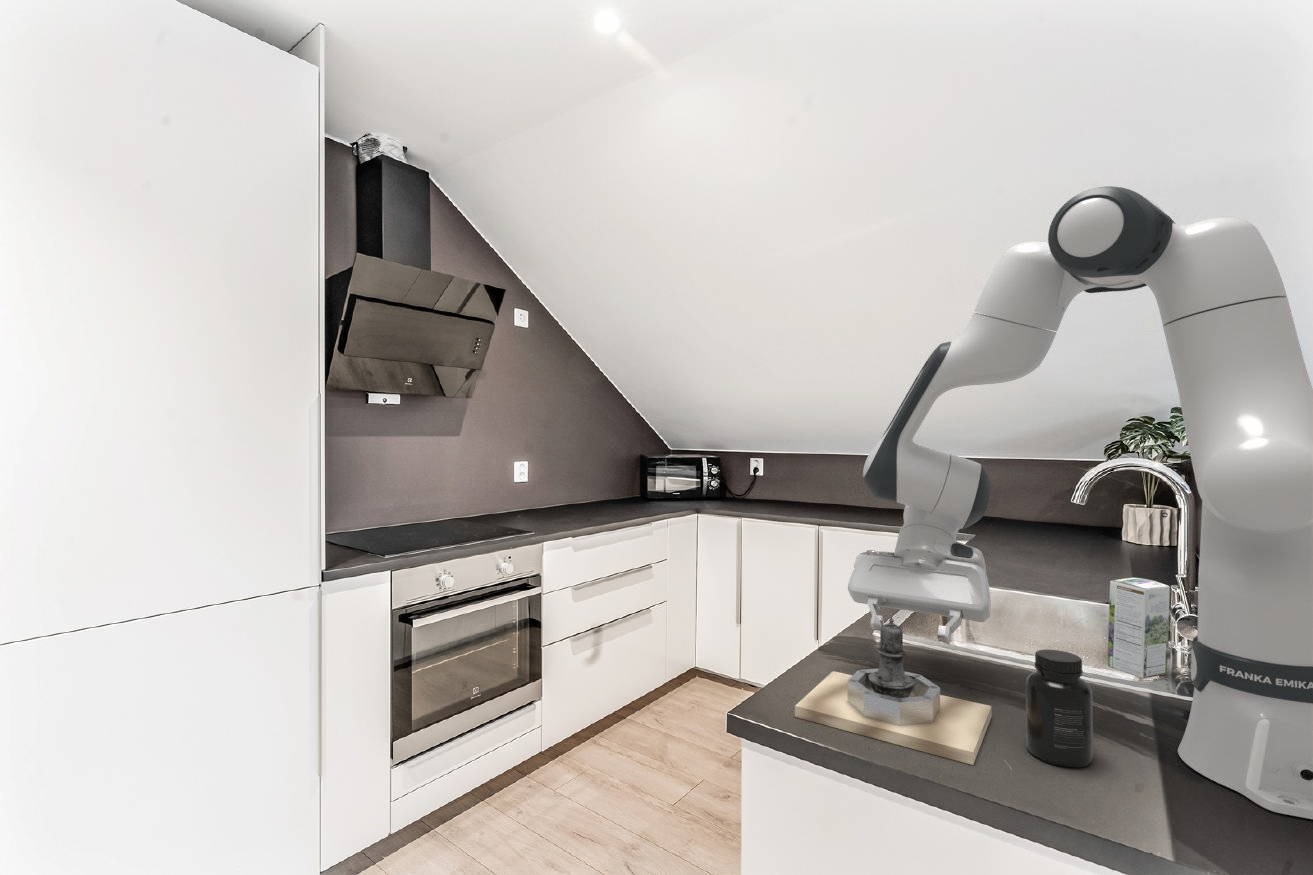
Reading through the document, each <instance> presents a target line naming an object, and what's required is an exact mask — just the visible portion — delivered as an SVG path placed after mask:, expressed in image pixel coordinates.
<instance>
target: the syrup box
mask: <svg viewBox="0 0 1313 875" xmlns="http://www.w3.org/2000/svg"><path fill="white" fill-rule="evenodd" d="M1170 592H1171V587H1170V586H1169V585H1168V584H1164V583H1161V582H1160V581H1159V582H1158V581H1156V580H1151V579H1146V578H1141V577H1128V578H1121V579H1112V580H1110V582H1109V602H1108V603H1109V604H1108V606H1109V607H1108V608H1109V609H1108V635H1107V637H1108V640H1107V641H1108V642H1107V666H1108V667H1109V668H1111V669H1114V670H1116V671H1119V672H1123V673H1124V674H1127V675H1132V676H1134V677H1137V678H1141V679H1142V680H1143V679H1149V678H1153V677H1158V676H1159V677H1160V676H1162V675H1163V676H1164V675H1166V674H1167V673H1168V657H1169V656H1168V652H1169V651H1168V650H1169V630H1170V629H1169V624H1170V622H1169V618H1170V599H1171V598H1170Z"/></svg>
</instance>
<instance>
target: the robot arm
mask: <svg viewBox="0 0 1313 875" xmlns="http://www.w3.org/2000/svg"><path fill="white" fill-rule="evenodd" d="M1145 287H1148V288H1149V289H1150V290H1151V292H1152V294H1153V295H1154V298H1155V301H1156V303H1157V307H1158V309H1159V315H1160V321H1161V323H1162V327H1163V333H1164V336H1165V341H1166V345H1167V349H1168V353H1169V358H1170V361H1171V366H1172V370H1173V374H1174V379H1175V382H1176V387H1177V391H1178V392H1177V393H1178V396H1179V401H1180V402H1179V403H1180V408H1181V413H1182V414H1181V415H1182V418H1183V420H1182V421H1183V423H1184V430H1185V434H1186V440H1187V445H1188V450H1189V454H1190V455H1189V456H1190V459H1191V464H1192V469H1193V473H1194V474H1193V475H1194V480H1195V483H1196V488H1197V491H1198V494H1199V497H1200V499H1201V502H1202V503H1201V520H1200V521H1201V524H1200V543H1199V561H1198V579H1197V581H1198V583H1197V587H1198V588H1197V590H1198V591H1197V593H1198V594H1197V635H1196V636H1195V637H1193V639H1192V648H1190V680H1191V682H1192V686H1193V694H1192V695H1193V696H1192V701H1191V707H1190V713H1189V717H1188V720H1187V724H1186V728H1185V731H1184V733H1183V736H1182V738H1181V742H1180V744H1179V745H1178V748H1177V753H1178V756H1179V758H1181V760H1182V761H1183V762H1184V763H1185V764H1186V765H1187V766H1189V767H1190V768H1191V769H1193V770H1194V771H1195V772H1197V773H1199V774H1201V775H1202V776H1204V777H1206V778H1208V779H1210V780H1211V781H1214V782H1216V783H1217V784H1219V785H1222V786H1224V787H1227V788H1229V789H1231V790H1234V791H1236V792H1237V793H1240V794H1241V795H1243V796H1245V797H1246V798H1247V799H1249V800H1251V801H1252V802H1254V803H1255V804H1256V805H1258V806H1260V807H1262V808H1264V809H1266V810H1269V811H1271V812H1274V813H1277V814H1283V815H1286V816H1287V815H1289V816H1293V817H1298V818H1303V819H1310V820H1313V385H1312V383H1311V379H1310V377H1309V373H1308V370H1307V367H1306V363H1305V359H1304V355H1303V352H1302V347H1301V344H1300V340H1299V337H1298V333H1297V328H1296V325H1295V322H1294V321H1295V320H1294V317H1293V313H1292V310H1291V306H1290V303H1289V298H1288V295H1287V292H1286V288H1285V285H1284V282H1283V279H1282V277H1281V274H1280V271H1279V269H1278V266H1277V264H1276V261H1275V260H1274V257H1273V255H1272V252H1271V251H1270V249H1269V247H1268V245H1267V243H1266V241H1265V239H1264V238H1263V236H1262V235H1261V233H1260V231H1259V229H1258V228H1257V227H1256V226H1255V225H1254V224H1253V223H1252V222H1250V221H1248V220H1246V219H1244V218H1240V217H1233V216H1232V217H1230V216H1228V217H1227V216H1225V217H1224V216H1223V217H1222V216H1221V217H1212V218H1207V219H1203V220H1200V221H1197V222H1192V223H1188V224H1177V223H1175V221H1174V220H1173V219H1172V217H1170V216H1169V215H1168V214H1166V212H1164V210H1163V209H1162V208H1161V207H1160V206H1159V205H1158V204H1157V203H1155V202H1154V201H1152V200H1151V199H1149V198H1147V197H1145V196H1143V195H1142V194H1140V193H1139V192H1137V191H1134V190H1132V189H1129V188H1125V187H1121V186H1098V187H1094V188H1089V189H1087V190H1084V191H1082V192H1080V193H1077V194H1076V195H1075V196H1073V197H1071V198H1070V199H1068V200H1067V201H1066V202H1065V203H1064V204H1063V205H1062V206H1061V207H1060V208H1059V209H1058V211H1057V212H1056V213H1055V215H1054V217H1053V219H1052V221H1051V223H1050V226H1049V230H1048V235H1047V241H1037V240H1036V241H1035V240H1032V241H1025V242H1021V243H1020V242H1019V243H1017V244H1015V245H1012V246H1011V247H1009V248H1008V249H1007V250H1006V251H1005V252H1003V254H1002V255H1001V257H1000V259H999V261H997V264H996V265H995V267H994V269H993V270H992V272H991V274H990V275H989V277H988V280H987V282H986V284H985V286H984V288H982V291H981V293H980V296H979V298H978V301H977V304H976V306H975V309H974V310H973V311H974V312H973V313H972V315H971V318H970V320H969V322H968V324H967V325H966V326H965V328H964V329H963V330H962V331H961V332H960V333H959V335H958V336H956V337H954V339H953V340H952V341H946V342H942V343H939V345H938V346H937V347H936V348H935V349H934V350H933V351H932V352H931V354H930V355H929V356H928V358H927V359H926V361H925V363H924V364H923V366H922V368H921V369H920V371H919V372H918V374H917V376H916V377H915V379H914V381H913V382H912V384H911V386H910V388H909V389H908V391H907V393H906V394H905V397H903V399H902V402H901V403H900V406H898V409H897V410H896V413H895V414H894V416H893V417H892V420H891V421H890V423H889V424H888V426H887V428H886V430H884V433H883V435H882V436H881V438H880V439H879V440H878V441H877V443H876V444H875V445H874V446H873V448H872V449H871V450H870V452H869V454H868V455H867V458H866V459H865V461H864V465H863V471H862V481H863V483H864V484H865V486H866V488H867V490H868V492H870V493H871V494H872V495H871V496H873V497H874V498H875V499H878V500H882V501H887V502H891V503H896V504H897V503H899V504H901V505H904V509H903V516H902V518H903V524H902V526H901V528H900V530H899V533H898V536H897V539H896V540H897V541H896V544H895V548H894V552H893V551H892V552H891V551H877V550H873V549H868V550H866V551H863V552H861V553H859V554H857V556H856V557H855V562H854V564H853V566H854V567H853V568H854V569H853V571H852V572H851V575H850V578H849V581H848V584H847V590H848V593H849V595H850V598H851V599H852V600H853V602H855V603H857V604H864V605H867V606H868V609H869V611H870V613H871V618H870V625H869V626H870V628H871V630H874V631H879V632H880V629H881V627H882V626H883V625H885V620H884V617H883V615H881V614H877V612H880V609H881V607H883V608H889V609H896V610H901V611H907V612H909V611H910V612H914V613H915V612H916V613H922V614H927V615H935V616H941V617H947V618H949V619H950V620H949V621H948V622H947V623H946V624H945V625H938V628H937V630H938V631H937V637H936V638H937V640H938V642H940V643H941V642H942V643H947V644H950V642H951V637H952V634H953V633H954V632H956V630H957V629H958V628H959V627H961V626H962V624H963V622H962V621H963V620H965V621H966V620H967V621H972V622H978V623H979V622H980V623H984V622H986V621H987V620H988V619H989V618H991V611H992V610H991V609H992V608H991V607H992V603H991V592H990V585H989V579H988V575H987V567H986V565H987V564H986V561H985V560H986V559H985V558H984V555H983V553H982V550H980V549H979V548H976V547H974V546H970V545H968V544H965V543H962V542H959V541H957V534H958V532H959V530H960V529H961V530H964V529H967V528H968V527H971V526H972V525H974V524H975V523H977V522H978V521H980V520H981V519H982V518H983V517H984V515H985V513H986V512H987V508H988V505H989V500H990V496H991V489H992V480H991V476H990V475H989V473H988V470H987V469H986V467H985V466H984V465H983V464H982V463H979V462H977V461H975V460H971V459H968V458H964V457H962V456H959V455H956V454H952V453H946V452H943V451H940V450H935V449H933V448H929V447H926V446H923V445H919V444H917V443H915V442H914V441H913V439H914V437H915V436H916V434H917V433H918V431H919V429H920V427H921V426H922V424H923V421H925V418H926V417H927V415H928V413H929V412H930V411H931V408H932V407H933V405H934V403H935V402H936V401H937V399H938V398H939V397H941V396H942V395H944V393H946V392H949V391H951V390H953V389H957V388H961V387H970V386H980V385H982V386H985V385H994V384H1002V383H1003V384H1004V383H1007V382H1012V381H1014V380H1015V381H1016V380H1018V379H1020V378H1023V377H1026V376H1027V375H1029V374H1031V373H1033V372H1034V371H1035V370H1037V368H1039V367H1040V365H1041V364H1042V363H1043V361H1044V359H1045V358H1046V356H1047V354H1048V353H1049V351H1050V348H1051V346H1052V345H1053V343H1054V340H1055V338H1056V335H1057V332H1058V330H1059V327H1060V325H1061V323H1062V320H1063V318H1064V315H1065V313H1066V311H1067V309H1068V307H1069V305H1070V304H1071V302H1072V301H1073V300H1074V298H1075V297H1076V296H1078V295H1079V294H1081V293H1082V292H1085V293H1087V294H1097V293H1098V294H1099V293H1107V292H1108V293H1109V292H1112V293H1113V292H1126V291H1132V290H1136V289H1137V290H1138V289H1141V288H1145Z"/></svg>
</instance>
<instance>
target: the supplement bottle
mask: <svg viewBox="0 0 1313 875" xmlns="http://www.w3.org/2000/svg"><path fill="white" fill-rule="evenodd" d="M1034 658H1035V659H1034V660H1035V662H1034V669H1035V670H1036V671H1033V672H1031V673H1030V674H1028V676H1027V677H1026V679H1025V741H1026V747H1027V750H1028V751H1029V752H1030V753H1031V755H1033V756H1034V757H1036V759H1037V758H1038V759H1039V760H1042V761H1043V762H1046V763H1049V764H1052V765H1054V766H1055V765H1056V766H1060V767H1065V768H1084V767H1086V766H1088V765H1090V764H1091V763H1092V760H1093V753H1094V752H1093V747H1094V746H1093V745H1094V743H1093V742H1094V738H1093V729H1094V727H1093V713H1094V712H1093V690H1092V688H1091V686H1090V685H1089V683H1088V682H1087V681H1085V680H1084V679H1083V678H1082V676H1083V659H1082V658H1081V657H1080V656H1079V655H1077V654H1075V653H1072V652H1068V651H1065V650H1060V649H1050V648H1049V649H1048V648H1047V649H1039V650H1037V651H1036V650H1035V654H1034Z"/></svg>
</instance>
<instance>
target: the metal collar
mask: <svg viewBox="0 0 1313 875" xmlns="http://www.w3.org/2000/svg"><path fill="white" fill-rule="evenodd" d="M878 669H879V668H869V669H857V671H855V673H853V676H852V677H851V678H850V679H849V680H848V703H849V704H850V705H851V706H852V707H854V708H855V709H856V710H857V711H858V712H859V713H860V714H861V715H862V716H864V717H867V718H871V719H874V720H878V721H882V722H886V723H890V724H894V725H898V726H906V725H917V724H927V723H933V722H934V720H935V718H936V716H937V715H938V713H939V711H940V695H941V687H940V686H938V685H937V684H936V683H934V682H932V681H931V680H930V679H928V678H926V677H924V676H923V675H922V674H918V673H915V672H909V671H905V670H904V673H905V675H907V676H909V677H911V678H912V679H913V680H914V685H913V687H912V691H911V693H910V695H909V696H908V698H895V697H891V696H886V695H882V694H878V693H875V692H874V691H873V689H872V686H871V681H870V680H869V675H870V674H871V673H873V672H877V671H878Z"/></svg>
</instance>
